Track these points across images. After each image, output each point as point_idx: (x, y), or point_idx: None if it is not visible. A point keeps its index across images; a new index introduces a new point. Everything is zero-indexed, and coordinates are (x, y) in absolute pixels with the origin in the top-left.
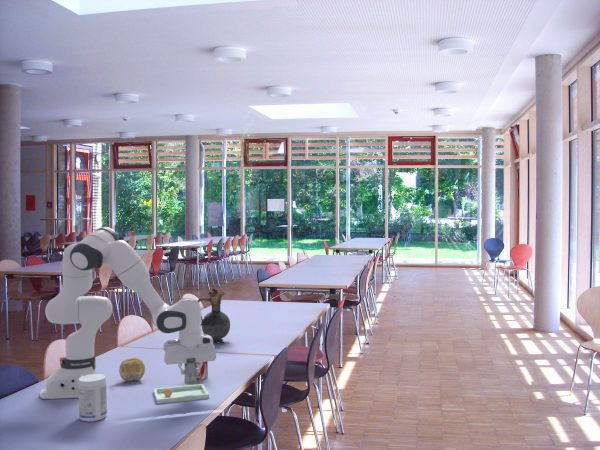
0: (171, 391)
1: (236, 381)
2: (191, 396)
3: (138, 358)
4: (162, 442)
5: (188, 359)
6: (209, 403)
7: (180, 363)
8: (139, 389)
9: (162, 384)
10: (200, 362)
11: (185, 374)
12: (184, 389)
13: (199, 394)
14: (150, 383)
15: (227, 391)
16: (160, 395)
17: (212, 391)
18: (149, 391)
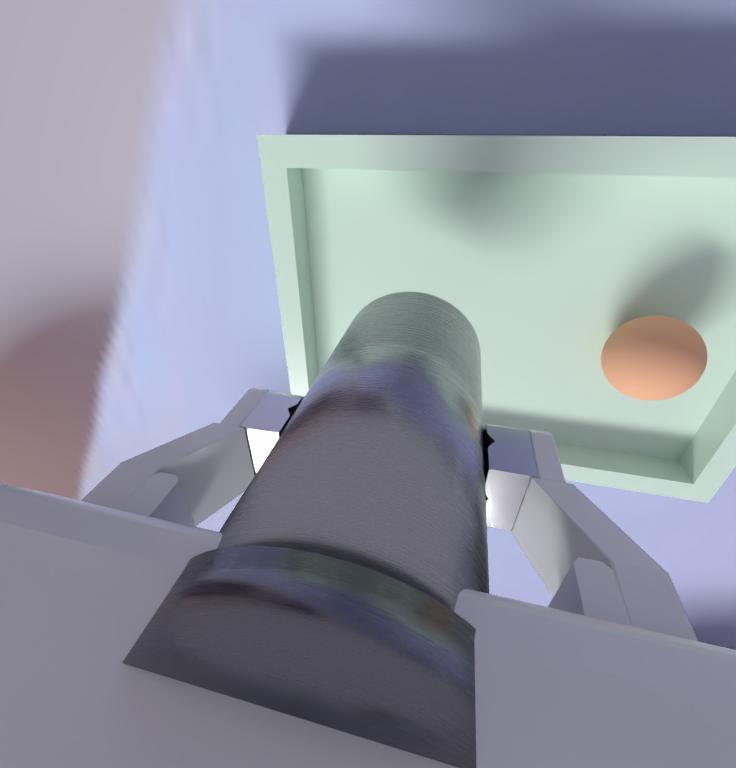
0: (627, 341)
1: (130, 453)
2: (455, 135)
3: None
4: None
5: (397, 695)
6: (286, 21)
7: (664, 636)
8: (702, 582)
9: (523, 581)
10: (129, 508)
11: (480, 408)
12: None
13: (356, 165)
14: None
15: (154, 316)
16: (684, 393)
17: (253, 358)
18: (664, 530)
